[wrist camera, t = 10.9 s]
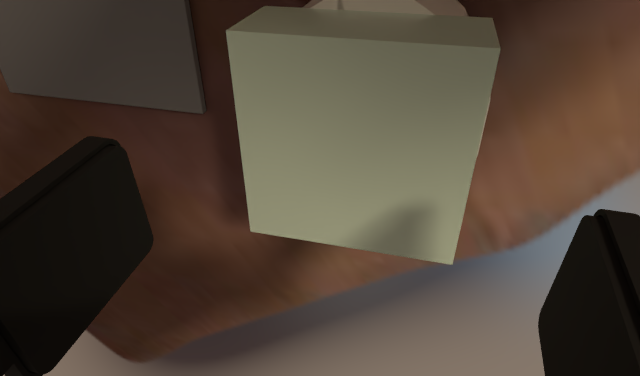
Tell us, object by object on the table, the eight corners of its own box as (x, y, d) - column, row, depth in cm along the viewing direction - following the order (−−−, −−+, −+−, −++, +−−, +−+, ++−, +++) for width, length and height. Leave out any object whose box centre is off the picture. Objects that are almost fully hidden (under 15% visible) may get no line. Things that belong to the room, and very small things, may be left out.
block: (492, 17, 13) (500, 48, 10) (452, 210, 17) (452, 264, 14) (264, 5, 14) (225, 30, 12) (277, 185, 18) (250, 231, 16)
